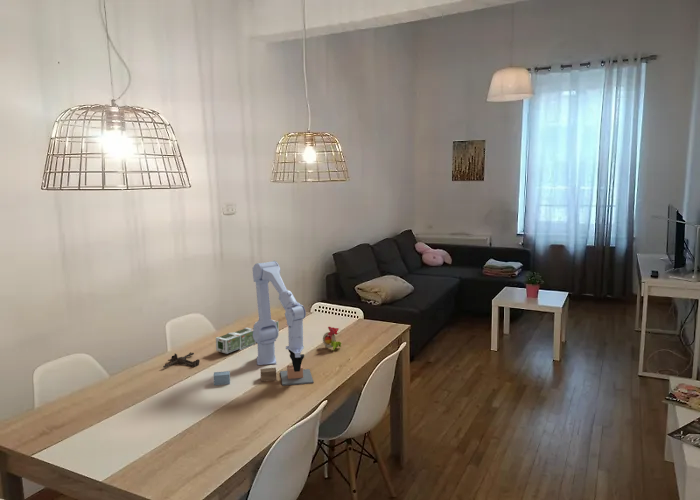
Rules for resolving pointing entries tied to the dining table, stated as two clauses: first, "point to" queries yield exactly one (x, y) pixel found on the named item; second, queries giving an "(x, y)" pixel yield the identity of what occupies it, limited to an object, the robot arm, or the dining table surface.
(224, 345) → the green white framed bar
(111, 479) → the dining table surface
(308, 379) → the grey flat square slab
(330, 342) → the bird rattle
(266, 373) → the walnut brick
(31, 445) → the dining table surface
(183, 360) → the dark action figure
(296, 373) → the terracotta brick
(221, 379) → the slate blue brick
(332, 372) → the dining table surface
